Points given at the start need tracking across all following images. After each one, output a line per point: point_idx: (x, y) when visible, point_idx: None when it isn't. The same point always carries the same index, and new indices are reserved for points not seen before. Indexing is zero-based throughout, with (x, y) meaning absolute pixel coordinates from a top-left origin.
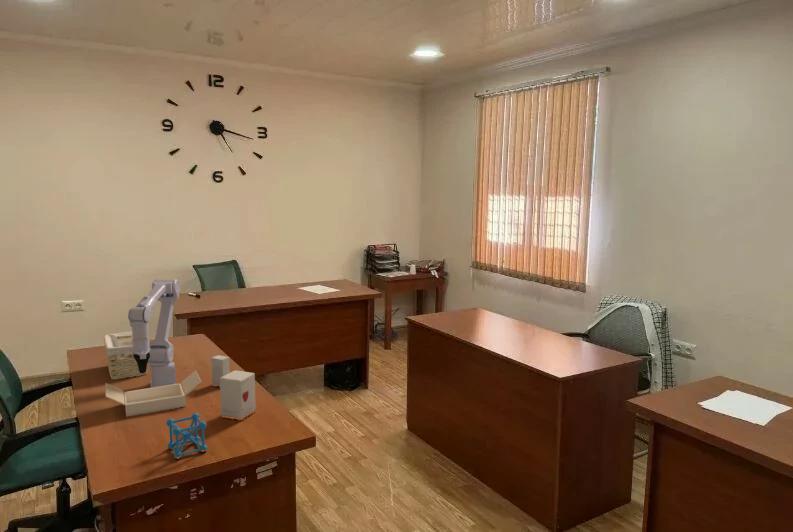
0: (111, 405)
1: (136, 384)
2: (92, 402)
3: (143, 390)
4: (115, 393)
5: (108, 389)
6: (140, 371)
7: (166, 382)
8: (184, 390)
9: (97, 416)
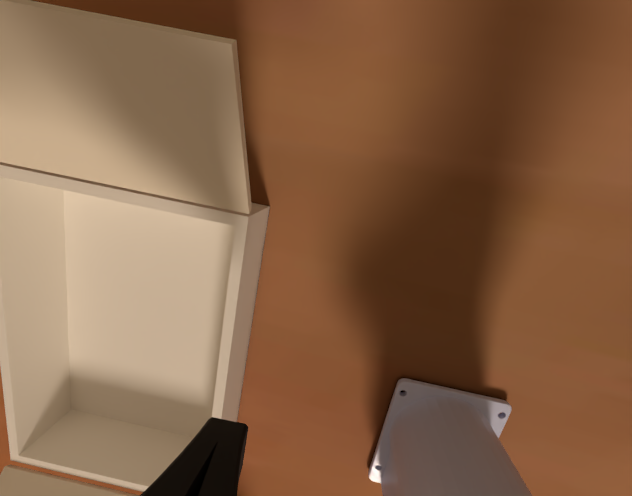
0: (281, 132)
1: (545, 340)
2: (416, 32)
3: (225, 328)
4: (71, 119)
5: (54, 45)
6: (199, 438)
7: (392, 460)
8: (66, 483)
9: (143, 17)
